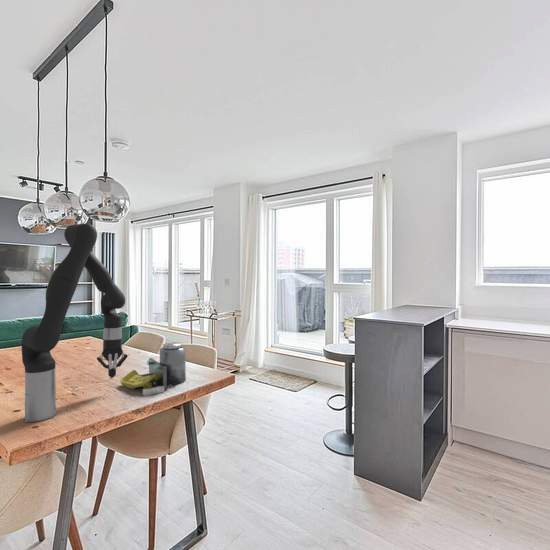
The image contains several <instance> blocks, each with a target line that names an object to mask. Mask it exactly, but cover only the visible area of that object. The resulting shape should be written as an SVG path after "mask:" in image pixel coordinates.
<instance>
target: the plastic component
mask: <svg viewBox="0 0 550 550" xmlns="http://www.w3.org/2000/svg"><path fill="white" fill-rule="evenodd" d="M139 374H140V373H138V371H137V370H135V369H133V370H131V371H130V372H128V373H127V374H126V375H124V376H123V377H122V378H121V379H120V380H119V382H120V384H121V385H122V387H124V386H125V387H124V388H128V389H132V390H134V389H136V388H141V387H143V389H146V388H152V387H153V385H152V384H155V382H156V381H157V375H156V374H153V375H152V376H151V375H149V376H145V377H143V376H140V375H139Z"/></svg>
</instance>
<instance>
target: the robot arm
mask: <svg viewBox="0 0 550 550" xmlns="http://www.w3.org/2000/svg"><path fill="white" fill-rule="evenodd" d="M63 233H64V234H63V236H64V239H65V241H66V243H67V244H68V246H70V249H69V251H68V253H67V255H66V256H65V258H63V260H62V261H61V262H60V263H59V264H58V265H57V267H55V269H54V271H53V272H52V274H51V275H50V279H49V282H48V283H47V286H46V289H45V309H44V310H45V311H44V314H43V316H42V318H41V320H40V322H39V325H36V324H35V325H31V326H30V327H28V328H26V329H25V331H24V332H23V333H22V337H21V359H22V360H21V361H22V365H23V367H24V423H30V422H33V423H34V422H41V421H45V420H47V419H50V418H51V419H52V418H53V417H55V415H57V404H56V403H57V401H56V400H57V399H56V397H57V396H56V393H57V392H56V389H57V387H56V381H57V380H56V375H57V374H56V360H55V359H54V357H53V356H52V354H51V351H53V349H54V348H55V347H57V345H58V344H59V341H60V338H61V335H62V330H63V326H64V323H65V319H66V316H67V313H68V310H69V307H70V306H71V305H70V304H71V302H72V299H73V297H74V295H75V292H76V290H77V287H78V284H79V281H80V278H81V276H82V273H83V271H84V268H85V269H86V271H87V272H88V274H89V276H90V277H91V279H92V282H93V284H94V285H95V287H96V289H97V290H98V292H101V293H103V295H102V297H101V299H100V308H101V311H102V315H103V316H102V317H103V318H104V319H103V320H104V321H103V333H102V335H103V336H102V342H103V343H102V351H101V354H100V355H99V356H97V357H96V360H97V361H98V363H99V364H101V366H102V367H103V368H104V369H108V371H107V372H108V374H107V375H108V376H109V378H115V376H116V375H117V368H120V367H121V366H122V365H123V363H124V362H125V361H126V359H127V358H128V354H127V353H125V352H124V350H123V331H122V330H123V329H122V320H123V319H122V315H121V314H119V313H117V309H118V310H119V309H122V308H123V307H124V306H125V304H126V298H125V294H124V293H123V292H122V290H121V289H120V288H119V286H118V285H117V284H116V283H115V282H114V280H113V278H112V276H111V274H110V272H109V270H108V268H107V267H106V266H105V265H104V264H103V263H102V262H101V261H100V260H99V258H98V257H97V256H96V255H95V254H94V253H93V251H92V250H93V248H94V246H95V245H96V242H97V240H98V231H97V229H96V227H95V226H94V225H93V224H90V223H76V224H71V225H68V226H67V227H66V228H65V230H64V232H63ZM104 359H105V360H106V361H107V364H106V363H105V362H104Z"/></svg>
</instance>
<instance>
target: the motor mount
mask: <svg viewBox="0 0 550 550" xmlns="http://www.w3.org/2000/svg"><path fill="white" fill-rule="evenodd" d="M186 363H187V362H186V346H185V345H184V346H183V343H182V342H174V341H173V342H166V343H163V344H162V347H160V348H159V362H158V361H157V360H156V359H154V358H152V357H149V358H148V360H146V364H147V365H148V372H146V373H138V374H139V375H140V376H143V377H145V376H149V375H151V376H152V375H153V374H156V375H157V381H156V382H155V383H154V384H155V385H156V386H152V387H151V388H146V389H144V388H143V389H142V396H143V397H145V396H146V397H147V396H150V395H154V394H160V393H164V392H167V391H168V386H174V385H175V384H176V385H180V384H183V383H185V382H186V380H187V379H186V378H187V374H186V370H187V369H186V368H187V367H186ZM176 385H175V386H176Z"/></svg>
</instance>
